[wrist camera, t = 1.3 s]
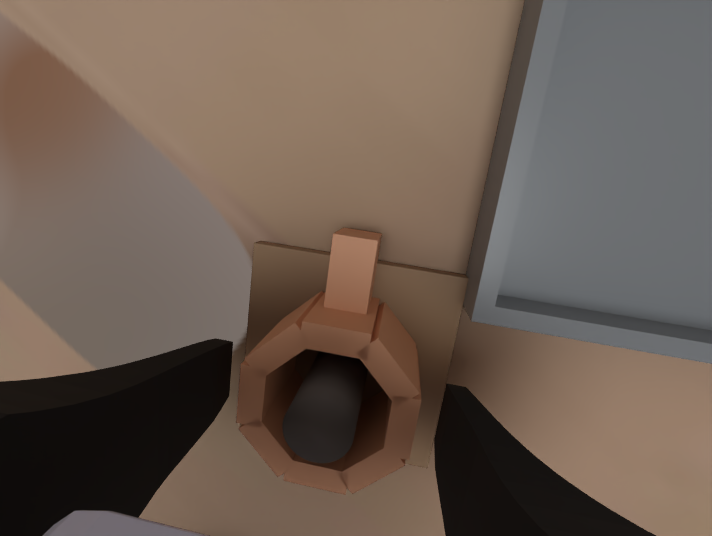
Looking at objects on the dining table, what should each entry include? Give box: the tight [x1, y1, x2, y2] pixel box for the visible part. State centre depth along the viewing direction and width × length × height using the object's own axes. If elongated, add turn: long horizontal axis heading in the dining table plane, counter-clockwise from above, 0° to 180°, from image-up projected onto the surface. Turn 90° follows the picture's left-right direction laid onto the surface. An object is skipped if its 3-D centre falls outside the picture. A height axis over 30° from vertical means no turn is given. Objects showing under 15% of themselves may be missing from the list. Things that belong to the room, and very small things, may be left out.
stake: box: [239, 241, 469, 468], centre depth 12 cm, size 8×8×5 cm
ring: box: [236, 228, 421, 495], centre depth 12 cm, size 8×5×4 cm
